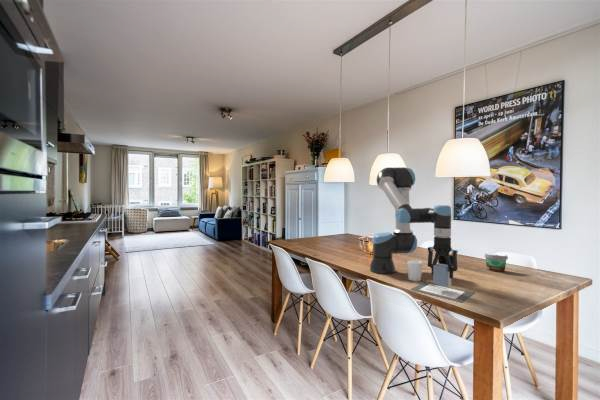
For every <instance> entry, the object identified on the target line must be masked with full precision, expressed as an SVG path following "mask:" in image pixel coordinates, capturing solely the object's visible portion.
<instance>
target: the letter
mask: <svg viewBox="0 0 600 400" xmlns="http://www.w3.org/2000/svg"><path fill="white" fill-rule="evenodd" d="M420 290H422V291H426V292H430V293H434V294H438V295H442V296H446V297H450V298H454V299H456V298H457V297H459V296H460V295H461V294H463V293H464V291H459V290H455V289H451V288H446V287H442V286H437V285H433V284H429V285H427V286H425V287H423V288H421V289H420Z"/></svg>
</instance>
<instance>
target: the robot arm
mask: <svg viewBox="0 0 600 400" xmlns="http://www.w3.org/2000/svg"><path fill="white" fill-rule="evenodd" d="M415 182H416V174H415V171H413V169H412V168H409V167H385V168H382V169H381V170H380V171H379V172H378V174H377V176H376V185H377V186H378V188H379V189H380V190H381V191H383V192H384V194H385V196H386V197H387V199H388V200H389V202H390V204H391V205H392V206H393V208H394V212H395V215H394V218H395V229H394V230H393V233H392V232H378V233H376V234H373V236H372V260H371V263H370V265H369V271H370V272H372V273H375V274H381V275H388V274H390V275H391V274H394V273H395V272H396V267H395V263H394V260H393V255H395V254H396V255H398V254H411V253H413V252H415V250H416V249H417V247H418V239H417V236H416V235H415V234H413V233H414V231H413V230H411V224H416V223H417V224H421V223H424V224H426V223H429V224H430V223H431V224H433V227H434V228H433V235H434V238H433V246H428V247H427V251H428V252H427V253H428V255H427V267H428V268H430V269H431V275H432V276H433V266H434V265H436V264H438V262H439V260H438V259H439V256H440V255H443V256H444V257H445V259H446V262H447V265H448V268H449V271H448V280H447V286H450V285H452V279H453V278H454V272H457V271H458V253H459V251H458V250H457V249H453V248H452V238H451V236H452V207H451V206H450V205H449V204H448V205H445V204H444V205H443V204H438V205H436V204H435V205H434V208H432V207H424V208H413V207H412V206H411V205H410V191H411V190H412V187H413V186H414V185H415V184H416V183H415ZM434 251H435V254H434ZM450 253H451V254H450ZM433 255H434V256H433ZM450 255H452V259H453V266H452V263H451V260H450ZM433 257H434V258H433Z"/></svg>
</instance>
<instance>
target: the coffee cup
mask: <svg viewBox="0 0 600 400" xmlns="http://www.w3.org/2000/svg"><path fill="white" fill-rule="evenodd" d="M449 255H450V260H451V263H452V266H453V259H452V255H453V254H449ZM438 263H439V264H445V265H447V262H446V259H445V257H444V256H443V255H440V256H439V259H438Z"/></svg>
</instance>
